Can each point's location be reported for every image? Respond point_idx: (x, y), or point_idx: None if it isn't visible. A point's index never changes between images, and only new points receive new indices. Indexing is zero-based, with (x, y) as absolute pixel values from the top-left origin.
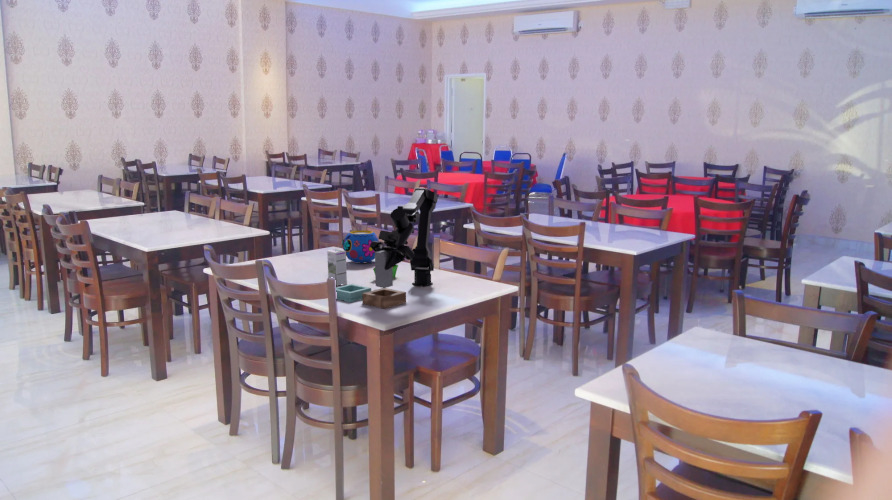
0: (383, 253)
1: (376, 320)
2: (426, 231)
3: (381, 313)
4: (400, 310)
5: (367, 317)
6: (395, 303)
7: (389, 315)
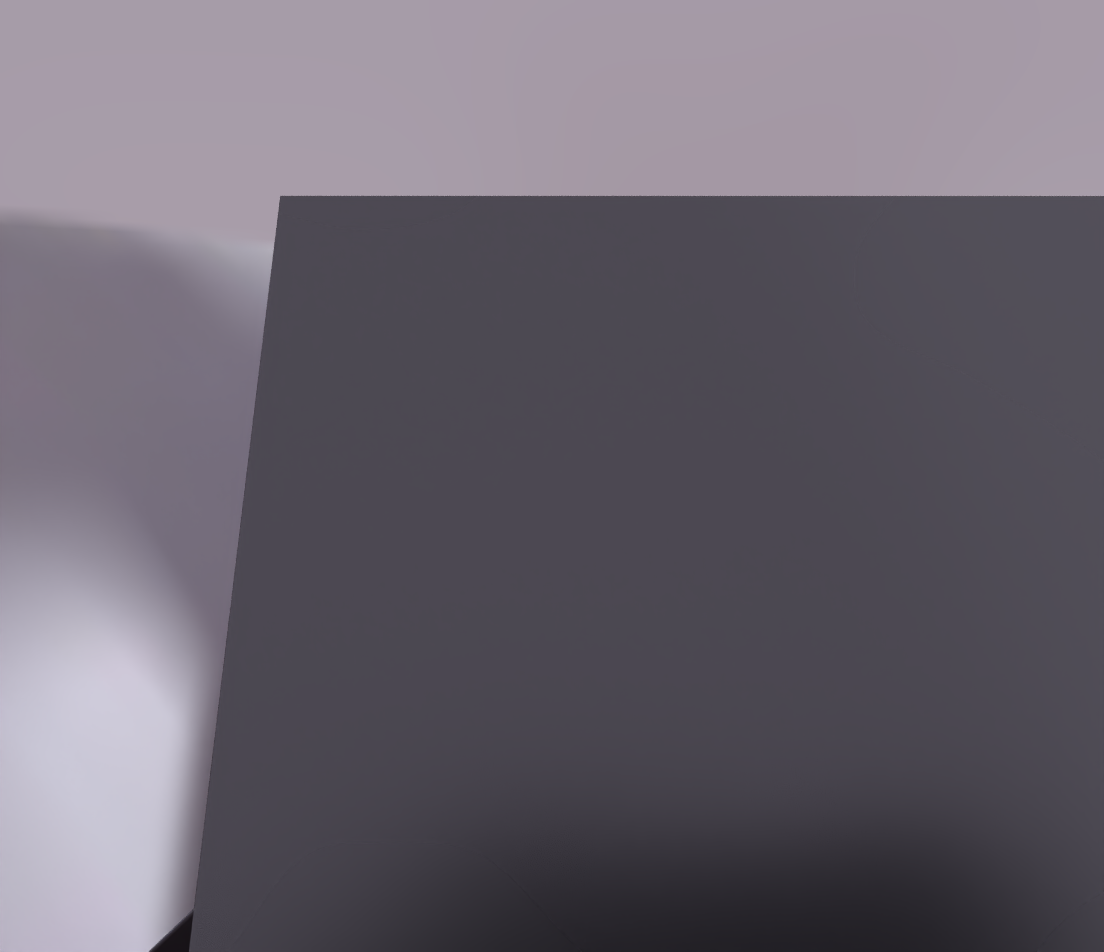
0: (305, 202)
1: (54, 252)
2: None
3: (198, 488)
4: (34, 790)
5: (236, 271)
6: None
7: (33, 486)
